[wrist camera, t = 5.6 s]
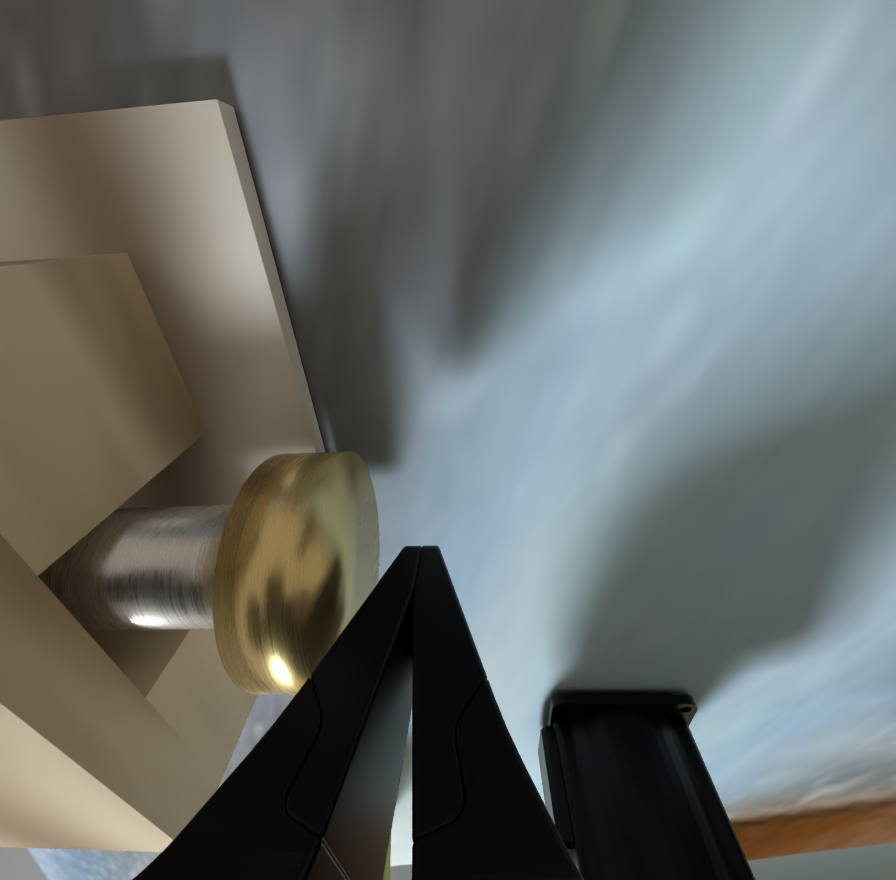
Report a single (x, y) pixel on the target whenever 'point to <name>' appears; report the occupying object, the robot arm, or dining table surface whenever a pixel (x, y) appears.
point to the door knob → (238, 568)
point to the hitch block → (126, 449)
